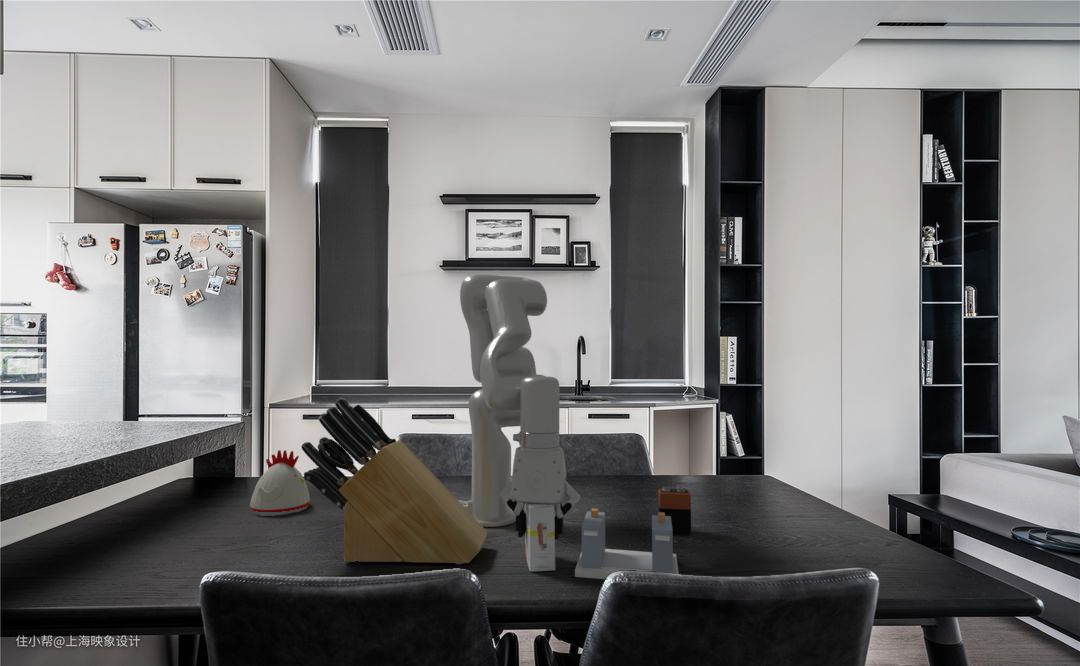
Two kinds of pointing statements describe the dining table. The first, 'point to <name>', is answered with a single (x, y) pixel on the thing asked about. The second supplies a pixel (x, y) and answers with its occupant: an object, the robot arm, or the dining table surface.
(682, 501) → the battery
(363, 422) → the knife block
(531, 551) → the ink box
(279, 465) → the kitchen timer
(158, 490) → the dining table surface
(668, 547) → the board
